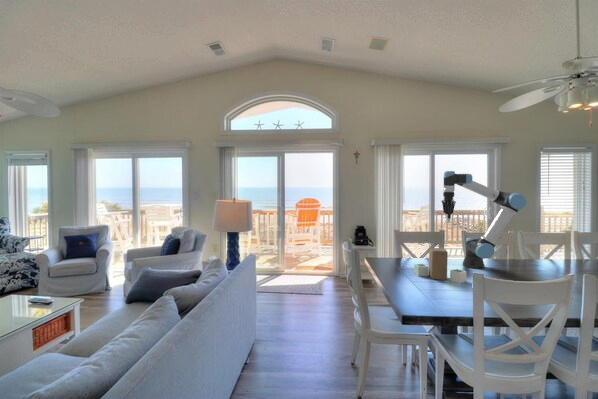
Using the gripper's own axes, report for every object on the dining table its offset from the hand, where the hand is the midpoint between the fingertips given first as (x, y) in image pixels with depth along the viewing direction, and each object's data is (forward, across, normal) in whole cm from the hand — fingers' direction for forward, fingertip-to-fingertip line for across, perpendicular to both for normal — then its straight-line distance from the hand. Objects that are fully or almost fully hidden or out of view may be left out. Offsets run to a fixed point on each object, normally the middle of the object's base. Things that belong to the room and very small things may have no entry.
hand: (447, 222), depth 234 cm
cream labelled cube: (+37, +25, -11) cm, 46 cm away
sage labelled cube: (+37, +7, -27) cm, 46 cm away
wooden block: (+37, +16, -20) cm, 45 cm away
